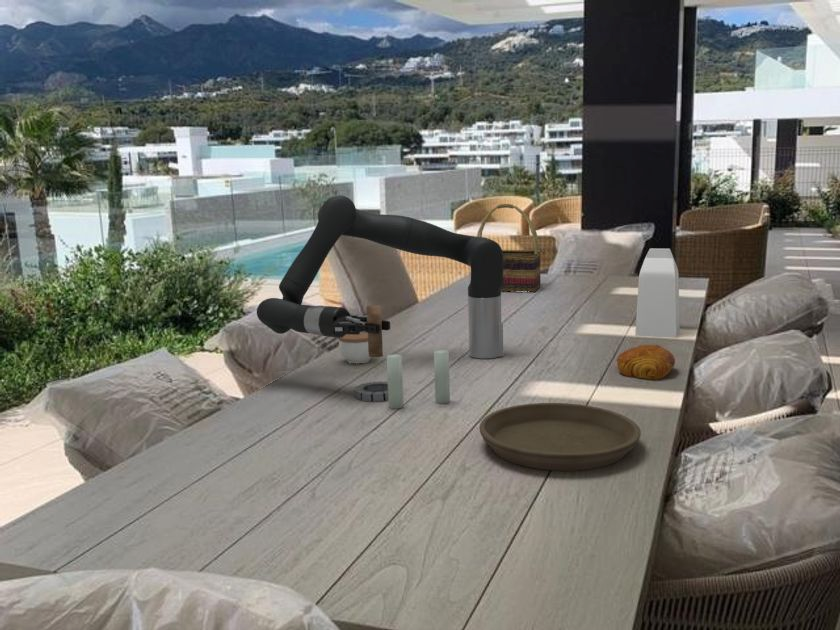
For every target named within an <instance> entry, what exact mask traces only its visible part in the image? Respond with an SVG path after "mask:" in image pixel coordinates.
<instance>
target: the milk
mask: <svg viewBox="0 0 840 630" xmlns="http://www.w3.org/2000/svg"><path fill="white" fill-rule="evenodd" d="M672 253H673V252H672V250H671V248H649V250H648V251H647V254H646V255H645V258H644V260H643V262H642V265H641V268H640V270H639V275H638V284H637V285H638V288H637V300H636V301H637V303H636V318H635V332H634V333H635V335H634V336H636V337H651V338H668V339H669V338H671V339H674V338H677V337H678V335H679V333H680V330H681V324H680V323H681V322H680V321H681V320H680V287H679V285H680V282H679V279H680V277H679V268H678V266H677V263H676V260H675V258H674V255H673V254H672Z"/></svg>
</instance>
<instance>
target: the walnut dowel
mask: <svg viewBox="0 0 840 630" xmlns="http://www.w3.org/2000/svg"><path fill="white" fill-rule="evenodd" d="M366 314H367V323H375V324H380V325H381V333H379V334H376V333H368V352H369V357H372V358H380V357H383V356H384V351H383V350H384V349H383V348H384V347H383V330H382V305H378V304H377V305H376V304H373V305H372V304H371V305H370V304H369V305H367V306H366Z"/></svg>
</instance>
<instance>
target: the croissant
mask: <svg viewBox="0 0 840 630" xmlns="http://www.w3.org/2000/svg"><path fill="white" fill-rule="evenodd" d="M616 362H617V369H618V372H620V373H621V374H622V375H624V376H626V377H629V378H635V377H636V378H637V379H645V380H661V379H663V378H665V377H667V375H669V373H670V372H671V370H672V369H673V367H674V366H675V364H676V360H675V356H674V354H673V353H672V352H671V351H670V350H668V349H666V348H664V347H663V346H661V345H657V344H656V345H655V344H654V345H653V344H643V345H638V346H635V347H631V348H628V349H627V350H624V351H623V352H622V353H620V354H619V355H618V356H617V359H616Z"/></svg>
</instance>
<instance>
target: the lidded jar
mask: <svg viewBox="0 0 840 630" xmlns="http://www.w3.org/2000/svg"><path fill="white" fill-rule="evenodd" d="M338 347H339V351H340V354H341V355H342V358H343V359H344V360H346V361H347V363H348V362H349V364H351V363H356V364H355V365H360V364H359V363H363V364H367V363H369V362H370V360H371V359H372V358H373V357H369V352H368V333H367V332H366V333H360V334H358V335H356V334H346V335H345V336H344V337H342V338H338ZM366 362H367V363H366ZM357 363H358V364H357Z"/></svg>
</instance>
